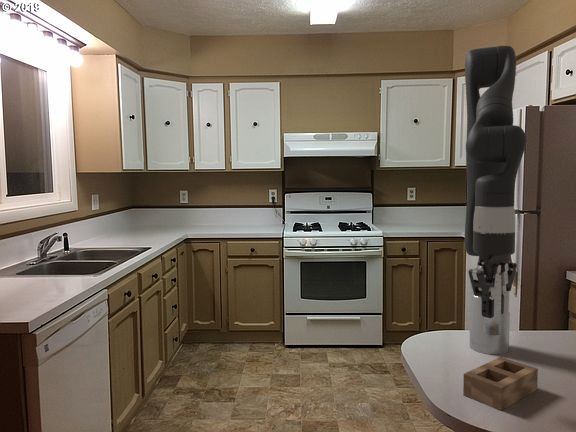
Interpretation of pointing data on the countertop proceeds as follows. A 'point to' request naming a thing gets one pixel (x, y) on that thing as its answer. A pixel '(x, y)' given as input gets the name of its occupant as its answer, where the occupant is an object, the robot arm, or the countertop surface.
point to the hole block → (500, 382)
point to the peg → (494, 324)
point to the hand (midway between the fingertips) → (492, 315)
